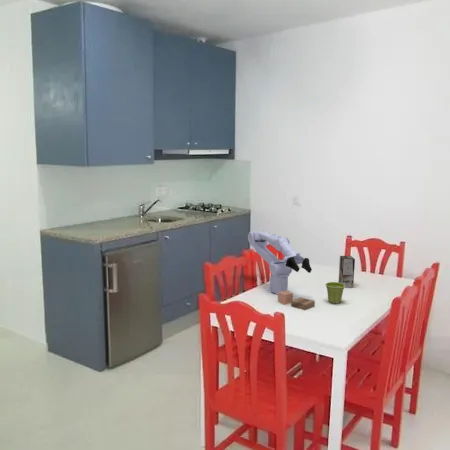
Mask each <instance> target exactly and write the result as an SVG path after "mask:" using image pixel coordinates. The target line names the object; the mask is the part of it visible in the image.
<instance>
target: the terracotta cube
mask: <svg viewBox="0 0 450 450" xmlns="http://www.w3.org/2000/svg"><path fill="white" fill-rule="evenodd" d="M288 291H289V290H288ZM288 291H281V292H278V294H277V302H278V303H280V304H282V305H289V304H290V305H291V301H292V300H294V298H293V297H294V293H293V292H292V291H290V292H288Z"/></svg>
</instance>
